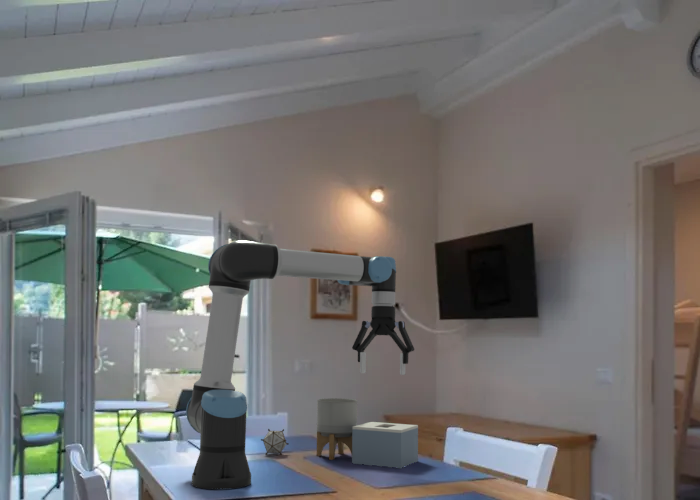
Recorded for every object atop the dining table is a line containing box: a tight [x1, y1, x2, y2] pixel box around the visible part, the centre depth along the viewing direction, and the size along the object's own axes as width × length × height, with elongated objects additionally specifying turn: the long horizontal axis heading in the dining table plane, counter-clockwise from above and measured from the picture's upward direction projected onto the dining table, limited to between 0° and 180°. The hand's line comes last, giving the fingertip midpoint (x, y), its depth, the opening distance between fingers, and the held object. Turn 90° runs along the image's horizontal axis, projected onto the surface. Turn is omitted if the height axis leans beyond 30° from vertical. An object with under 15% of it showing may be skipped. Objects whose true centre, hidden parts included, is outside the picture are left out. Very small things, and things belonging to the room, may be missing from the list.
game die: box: [260, 428, 289, 456], centre depth 230 cm, size 9×8×10 cm
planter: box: [316, 397, 358, 461], centre depth 228 cm, size 13×13×18 cm
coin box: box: [351, 421, 419, 469], centre depth 218 cm, size 14×16×11 cm
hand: (382, 374), depth 220 cm, fingers open, 13 cm apart
